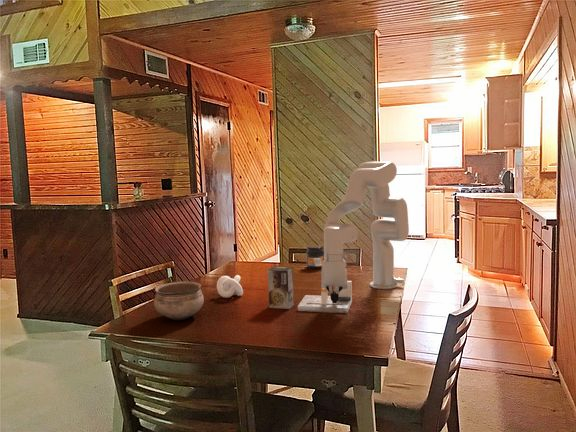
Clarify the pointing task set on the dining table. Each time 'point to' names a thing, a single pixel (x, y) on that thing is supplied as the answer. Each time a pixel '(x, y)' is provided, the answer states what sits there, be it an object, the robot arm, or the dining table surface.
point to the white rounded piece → (229, 286)
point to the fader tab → (324, 296)
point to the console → (323, 305)
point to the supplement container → (315, 256)
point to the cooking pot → (178, 299)
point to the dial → (346, 292)
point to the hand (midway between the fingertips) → (334, 302)
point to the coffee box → (280, 287)
